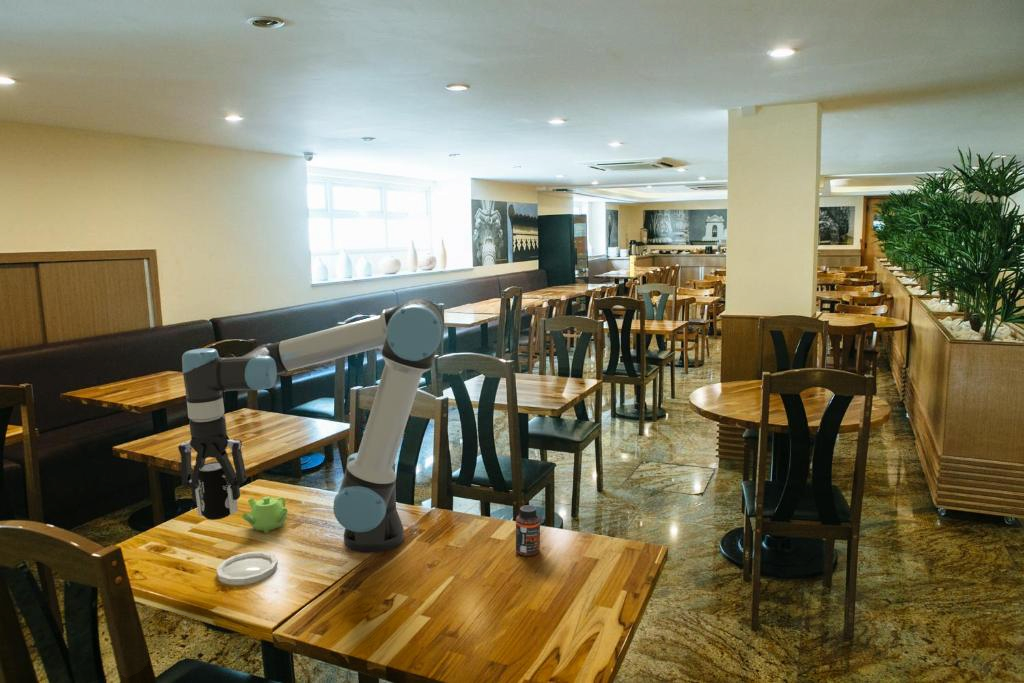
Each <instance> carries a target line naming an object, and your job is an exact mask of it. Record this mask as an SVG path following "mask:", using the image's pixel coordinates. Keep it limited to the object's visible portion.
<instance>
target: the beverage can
mask: <svg viewBox="0 0 1024 683" xmlns="http://www.w3.org/2000/svg"><path fill="white" fill-rule="evenodd" d="M198 482H199V490H200V498H201V506H202V514H203V516H202V517H204V518H205V519H206V520H208V521H209V520H210V521H217V520H221V519H225V518H226V517H227V518H228V517H229V516H231V515H230V507H229V499H228V490H227V488H228V487H229V486H230V484H229V482H228V480H227V478H226V476H225V473H224V472H223V469H222V467H221V465H220V463H219V462H218V461H211V462H207V463H206V462H205V464H204V466H203V467H202V468H201V469H200V468H199V473H198Z"/></svg>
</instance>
